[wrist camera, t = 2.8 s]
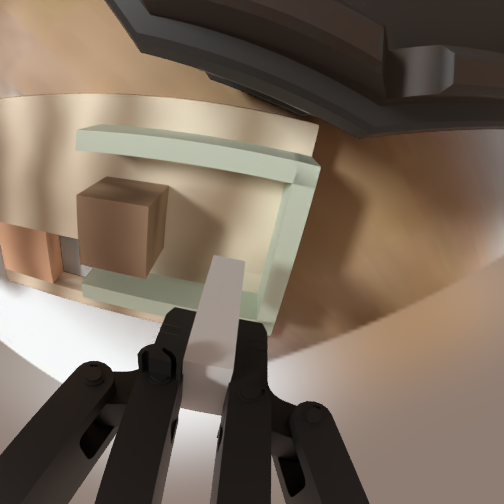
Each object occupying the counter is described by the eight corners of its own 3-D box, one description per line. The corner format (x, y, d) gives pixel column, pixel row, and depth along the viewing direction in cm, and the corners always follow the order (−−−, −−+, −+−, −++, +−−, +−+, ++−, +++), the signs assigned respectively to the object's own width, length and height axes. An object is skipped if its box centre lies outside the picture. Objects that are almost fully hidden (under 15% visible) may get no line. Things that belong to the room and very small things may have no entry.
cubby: (99, 274, 22) (83, 296, 19) (100, 124, 17) (76, 129, 14) (269, 308, 23) (270, 335, 20) (311, 156, 18) (321, 167, 15)
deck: (18, 269, 25) (8, 279, 23) (7, 97, 17) (-8, 100, 15) (259, 325, 26) (259, 341, 25) (313, 122, 19) (319, 125, 17)
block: (105, 236, 20) (80, 264, 17) (106, 176, 18) (76, 195, 15) (163, 247, 21) (145, 279, 17) (169, 185, 19) (148, 206, 15)
